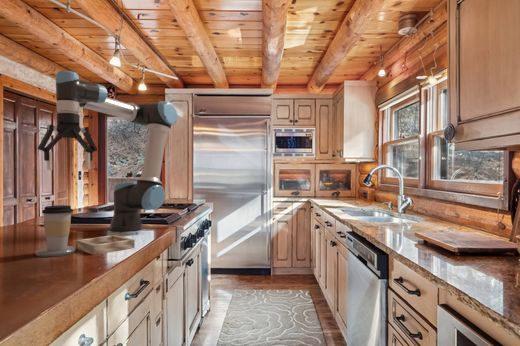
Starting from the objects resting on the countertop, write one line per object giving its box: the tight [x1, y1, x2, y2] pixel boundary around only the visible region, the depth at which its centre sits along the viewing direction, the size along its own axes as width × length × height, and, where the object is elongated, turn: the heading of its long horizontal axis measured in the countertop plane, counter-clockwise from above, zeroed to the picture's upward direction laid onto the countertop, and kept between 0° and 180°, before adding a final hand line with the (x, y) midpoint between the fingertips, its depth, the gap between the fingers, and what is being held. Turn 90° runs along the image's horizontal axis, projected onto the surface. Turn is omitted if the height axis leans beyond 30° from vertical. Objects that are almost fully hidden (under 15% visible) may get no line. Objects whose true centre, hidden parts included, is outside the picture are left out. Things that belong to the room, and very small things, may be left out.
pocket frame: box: [75, 234, 136, 256], centre depth 129 cm, size 15×15×3 cm
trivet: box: [35, 245, 77, 258], centre depth 121 cm, size 12×12×1 cm
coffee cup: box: [41, 204, 74, 251], centre depth 121 cm, size 9×9×15 cm
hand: (69, 169), depth 131 cm, fingers open, 13 cm apart
